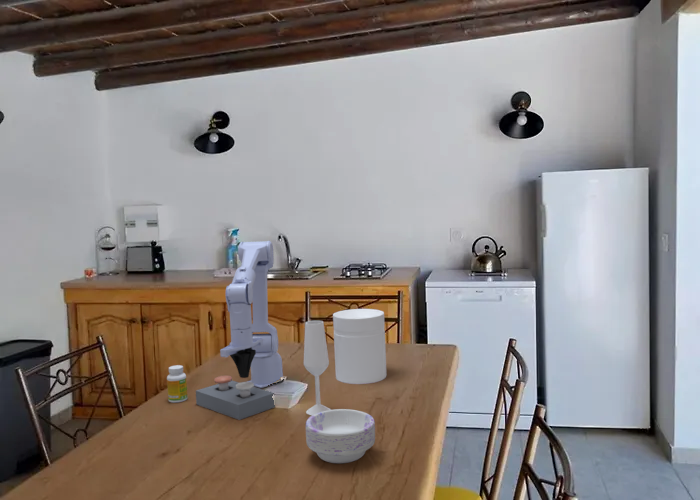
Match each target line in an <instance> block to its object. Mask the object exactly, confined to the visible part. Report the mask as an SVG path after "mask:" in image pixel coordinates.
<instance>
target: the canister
mask: <svg viewBox="0 0 700 500" xmlns="http://www.w3.org/2000/svg"><path fill="white" fill-rule="evenodd" d="M332 321H333V322H332V323H333V345H334V364H335V365H334V367H335V380H337V381H338V382H341V383H343V384H350V385H365V384H366V385H367V384H373V383H378V382H380V381H381V382H382V381H383V380H385V379H386V378H387V356H386V355H387V354H386V352H387V351H386V350H387V348H386V331H385V323H386V322H385V312H384V310H379V309H375V308H374V309H373V308H355V309H354V308H353V309H344V310H339V311H336V312H334V313H332Z"/></svg>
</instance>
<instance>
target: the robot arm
mask: <svg viewBox="0 0 700 500" xmlns="http://www.w3.org/2000/svg"><path fill="white" fill-rule="evenodd" d="M237 248H238V249H237V253H238V259H239V261H240V262H241V265H240V266H239V267H238V268H237V269H236V271H235V272H234V276H233V277H232V281H231V283H230V284H229V285H226V288H225V302H226V305H227V311H228V313H229V321H230V322H229V324H230V341H231V342H229V345H227V346H225V347H223V348H221V349H220V350H219V351H220V357H221V358H229V357H230V358H231V359H232V361H233V363H234V364H235V366H236V370H237V373H238V376H239V377H240V378H242V379H247V378H249V375H250V376H251V379H250V380H247V381H246V382H253V383H254V387H256V388H259V389H264V388H266V387H269V386H271V385H270V384H272V383H274V382H276V381H277V380H279V379H280V377H282V376H283V377H284V374H283V371H284V370H283V360H282V356H281V355H280V354H279V352H278V349H279V337H278V329H277V328H276V327H275V326H274V325H273V324H271V323H269V312H268V311H269V310H268V307H269V306H268V302H269V301H268V272H269V270H270V269H272V268H273V267H274V263H275V259H274V245H273V242H272V241H271V240H267V241H266V240H265V241H264V240H263V241H262V240H261V241H241V242H239V244H238V247H237ZM268 385H269V386H268ZM272 385H273V384H272Z"/></svg>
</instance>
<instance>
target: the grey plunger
mask: <svg viewBox="0 0 700 500" xmlns="http://www.w3.org/2000/svg"><path fill="white" fill-rule="evenodd" d="M253 387H255V386H254V383H253V382H247V381H241V382H239V383H238V384H236V389H237V390H240V398H247V397H250V396H251V393H250V389H251V388H253Z"/></svg>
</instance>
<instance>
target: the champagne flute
mask: <svg viewBox="0 0 700 500" xmlns="http://www.w3.org/2000/svg"><path fill="white" fill-rule="evenodd" d="M304 323H305V324H304V345H303V347H304V349H303V350H304V351H303V367H304V368H305V370H306V371H307V372H309V373H310V374H311V375H312V376H314V387H315V389H314V390H315V404H314V405H313V406H311V407H309V408H308V409H307V410H306V411H305V413H306V414H307V415H309V416H312V415H314V414H316V413H319V412H323V411H327V410H332V409H331V408H329V407H327V406H325V405H323V404H322V403H321V386H320V376H321V375H323V373H324V372H326V370H327V368H328V367H329V364H330V361H329V353H328V347H327V338H326V332H325V326H324V325H325V324H324V321H323V320H309V321H306V322H304Z"/></svg>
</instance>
